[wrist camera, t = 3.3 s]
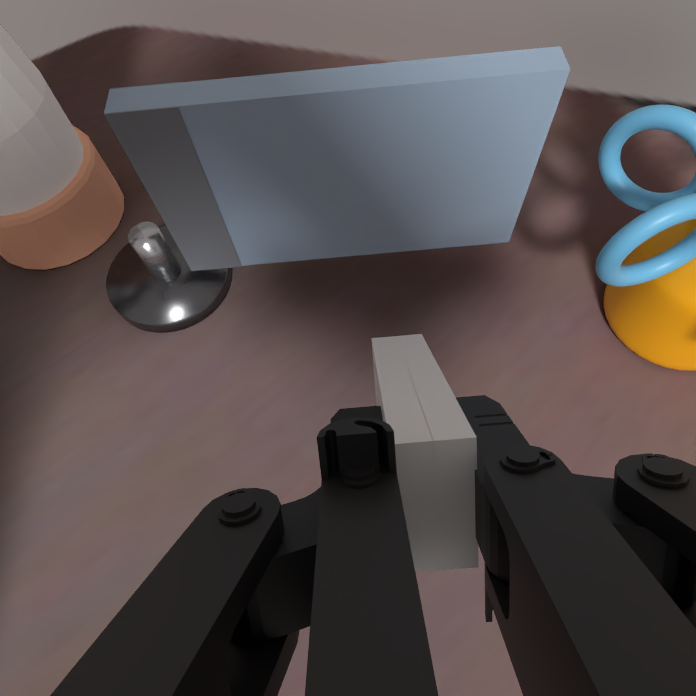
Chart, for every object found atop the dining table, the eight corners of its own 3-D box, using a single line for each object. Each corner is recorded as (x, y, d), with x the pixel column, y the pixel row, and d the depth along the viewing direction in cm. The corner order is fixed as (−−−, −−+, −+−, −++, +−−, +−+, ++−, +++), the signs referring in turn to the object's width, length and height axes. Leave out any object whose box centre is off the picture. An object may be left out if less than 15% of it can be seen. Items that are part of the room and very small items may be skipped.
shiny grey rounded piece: (105, 337, 24) (63, 296, 21) (123, 239, 27) (88, 189, 24) (229, 326, 24) (205, 283, 21) (234, 229, 27) (214, 178, 23)
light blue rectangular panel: (191, 271, 24) (103, 114, 16) (193, 249, 24) (109, 88, 17) (509, 243, 23) (570, 70, 16) (503, 221, 24) (560, 44, 16)
